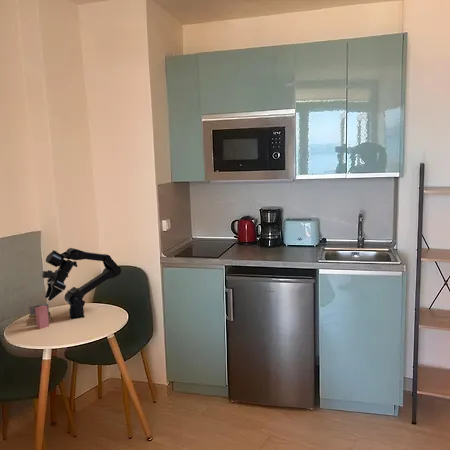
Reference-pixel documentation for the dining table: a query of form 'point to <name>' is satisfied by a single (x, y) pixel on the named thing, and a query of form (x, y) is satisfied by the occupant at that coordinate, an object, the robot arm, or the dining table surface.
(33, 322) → the rack
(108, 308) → the dining table surface
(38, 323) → the red rectangular block
